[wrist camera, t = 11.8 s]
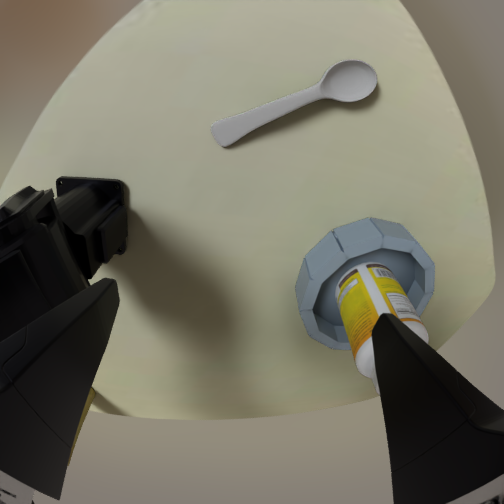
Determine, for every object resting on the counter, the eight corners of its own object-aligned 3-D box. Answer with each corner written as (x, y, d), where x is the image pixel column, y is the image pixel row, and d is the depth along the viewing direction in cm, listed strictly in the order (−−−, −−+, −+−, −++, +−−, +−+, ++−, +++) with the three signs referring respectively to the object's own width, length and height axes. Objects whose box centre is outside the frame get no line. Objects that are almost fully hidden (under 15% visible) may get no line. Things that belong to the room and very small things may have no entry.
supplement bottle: (337, 315, 26) (363, 411, 17) (329, 268, 23) (363, 371, 14) (392, 299, 25) (433, 387, 16) (391, 251, 22) (449, 341, 13)
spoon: (378, 91, 16) (388, 93, 15) (227, 151, 20) (223, 158, 18) (362, 54, 15) (371, 52, 13) (208, 117, 19) (201, 120, 17)
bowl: (283, 323, 27) (286, 346, 25) (317, 207, 21) (326, 224, 18) (389, 329, 28) (398, 349, 25) (438, 232, 22) (455, 249, 19)
